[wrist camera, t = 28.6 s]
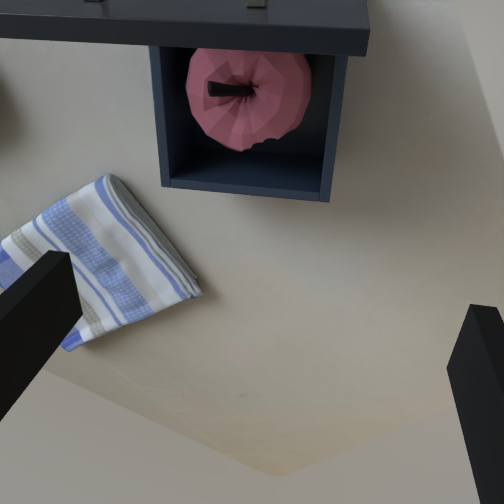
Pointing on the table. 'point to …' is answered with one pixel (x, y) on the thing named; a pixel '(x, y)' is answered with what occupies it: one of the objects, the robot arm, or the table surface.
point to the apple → (247, 94)
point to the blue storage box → (260, 154)
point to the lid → (196, 24)
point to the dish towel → (103, 258)
